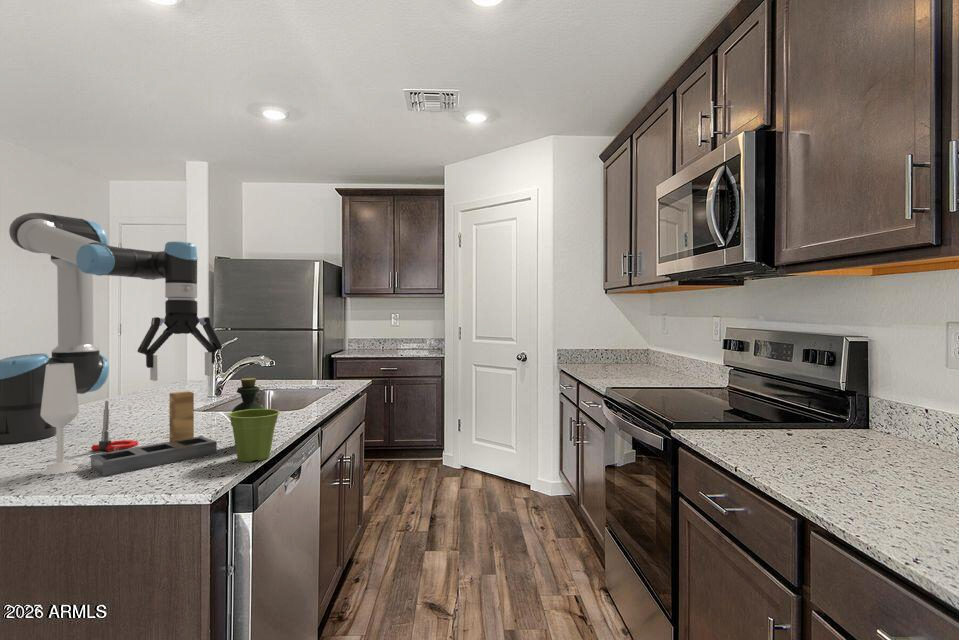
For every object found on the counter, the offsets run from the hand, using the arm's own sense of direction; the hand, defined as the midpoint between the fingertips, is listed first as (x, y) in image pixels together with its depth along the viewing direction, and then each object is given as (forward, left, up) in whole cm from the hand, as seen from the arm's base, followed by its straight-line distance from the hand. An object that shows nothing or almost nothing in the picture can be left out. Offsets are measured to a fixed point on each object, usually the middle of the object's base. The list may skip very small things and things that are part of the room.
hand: (182, 377), depth 138 cm
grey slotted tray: (+12, -10, -18) cm, 24 cm away
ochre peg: (0, 0, -18) cm, 18 cm away
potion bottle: (+15, +11, -18) cm, 26 cm away
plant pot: (+28, +6, -18) cm, 34 cm away
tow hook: (-10, -12, -18) cm, 24 cm away
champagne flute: (+4, -27, -18) cm, 33 cm away
